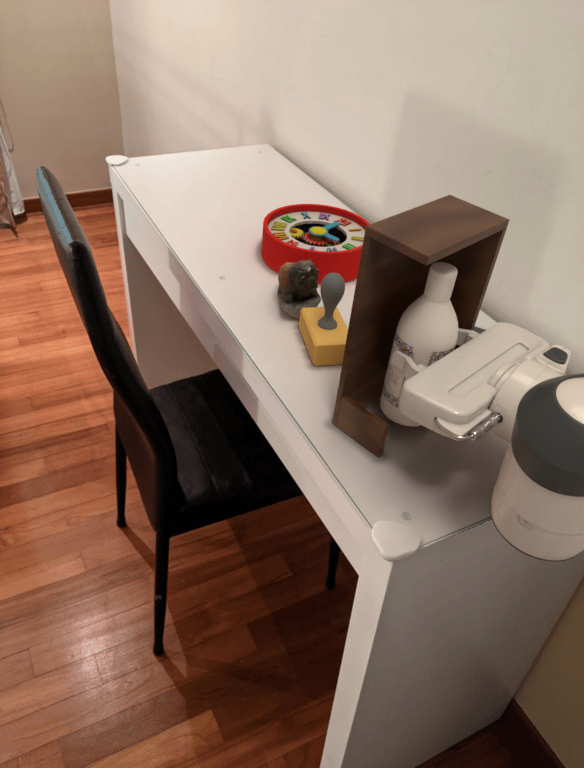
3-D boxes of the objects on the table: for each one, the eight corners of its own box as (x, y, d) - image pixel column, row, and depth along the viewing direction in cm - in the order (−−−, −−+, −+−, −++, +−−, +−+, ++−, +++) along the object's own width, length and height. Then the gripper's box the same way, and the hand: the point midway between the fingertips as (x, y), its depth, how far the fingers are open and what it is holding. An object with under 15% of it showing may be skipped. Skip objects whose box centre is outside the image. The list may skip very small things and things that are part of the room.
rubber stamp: (351, 364, 88) (364, 292, 80) (312, 366, 87) (322, 293, 79) (334, 325, 95) (344, 255, 88) (298, 327, 94) (305, 256, 86)
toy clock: (239, 222, 107) (312, 195, 120) (238, 252, 111) (309, 223, 123) (327, 265, 98) (396, 230, 110) (323, 297, 101) (390, 260, 114)
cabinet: (447, 407, 82) (510, 219, 65) (378, 457, 74) (428, 256, 57) (402, 379, 86) (449, 194, 69) (331, 423, 78) (365, 225, 61)
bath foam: (437, 400, 79) (480, 261, 67) (429, 434, 74) (474, 290, 61) (385, 386, 80) (417, 247, 68) (373, 419, 75) (406, 274, 63)
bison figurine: (271, 285, 103) (275, 230, 97) (312, 286, 104) (319, 231, 98) (280, 326, 94) (284, 267, 87) (324, 325, 95) (333, 268, 89)
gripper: (460, 469, 60) (355, 397, 67) (557, 388, 72) (459, 334, 79) (477, 422, 56) (364, 351, 63) (577, 344, 68) (472, 292, 75)
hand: (418, 341), depth 71 cm, fingers closed on bath foam, 7 cm apart
